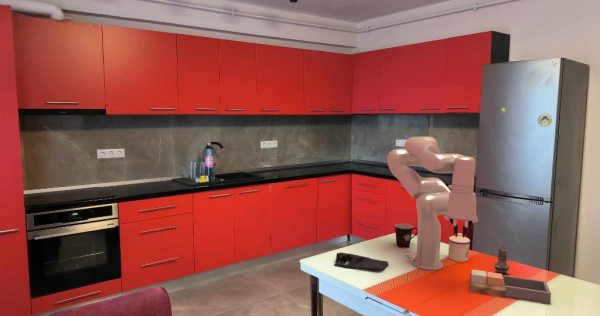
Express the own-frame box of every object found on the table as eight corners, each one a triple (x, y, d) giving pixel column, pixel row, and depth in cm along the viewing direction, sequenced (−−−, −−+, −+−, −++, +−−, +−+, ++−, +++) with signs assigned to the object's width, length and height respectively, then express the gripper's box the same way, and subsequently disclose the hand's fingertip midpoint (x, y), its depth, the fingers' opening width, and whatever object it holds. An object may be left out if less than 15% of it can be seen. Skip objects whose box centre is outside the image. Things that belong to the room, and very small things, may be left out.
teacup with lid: (470, 263, 180) (472, 237, 179) (448, 261, 182) (450, 235, 181) (466, 253, 192) (468, 229, 190) (446, 251, 194) (447, 228, 193)
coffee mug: (394, 248, 198) (395, 228, 197) (393, 242, 207) (394, 223, 206) (419, 249, 197) (420, 229, 195) (417, 243, 205) (418, 224, 204)
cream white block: (471, 281, 155) (471, 274, 155) (471, 276, 160) (471, 269, 159) (485, 284, 153) (486, 276, 153) (485, 279, 158) (486, 271, 157)
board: (469, 291, 152) (470, 285, 152) (469, 279, 163) (470, 273, 163) (505, 297, 148) (506, 291, 147) (503, 284, 159) (503, 278, 158)
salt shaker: (511, 277, 165) (513, 248, 164) (495, 276, 166) (497, 247, 165) (506, 271, 171) (508, 244, 170) (491, 270, 172) (493, 243, 171)
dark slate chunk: (380, 276, 166) (380, 265, 166) (330, 266, 177) (331, 255, 176) (391, 264, 180) (391, 253, 179) (344, 255, 190) (344, 245, 189)
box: (505, 297, 148) (506, 286, 148) (503, 285, 158) (503, 275, 158) (550, 304, 143) (551, 293, 142) (544, 291, 153) (545, 281, 152)
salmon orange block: (487, 284, 153) (487, 276, 152) (486, 279, 157) (487, 271, 157) (502, 286, 151) (502, 278, 151) (501, 281, 156) (501, 273, 155)
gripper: (439, 189, 154) (437, 236, 157) (486, 192, 148) (482, 241, 151) (441, 185, 161) (438, 230, 163) (485, 188, 155) (482, 235, 157)
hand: (459, 235), depth 157 cm, fingers closed
